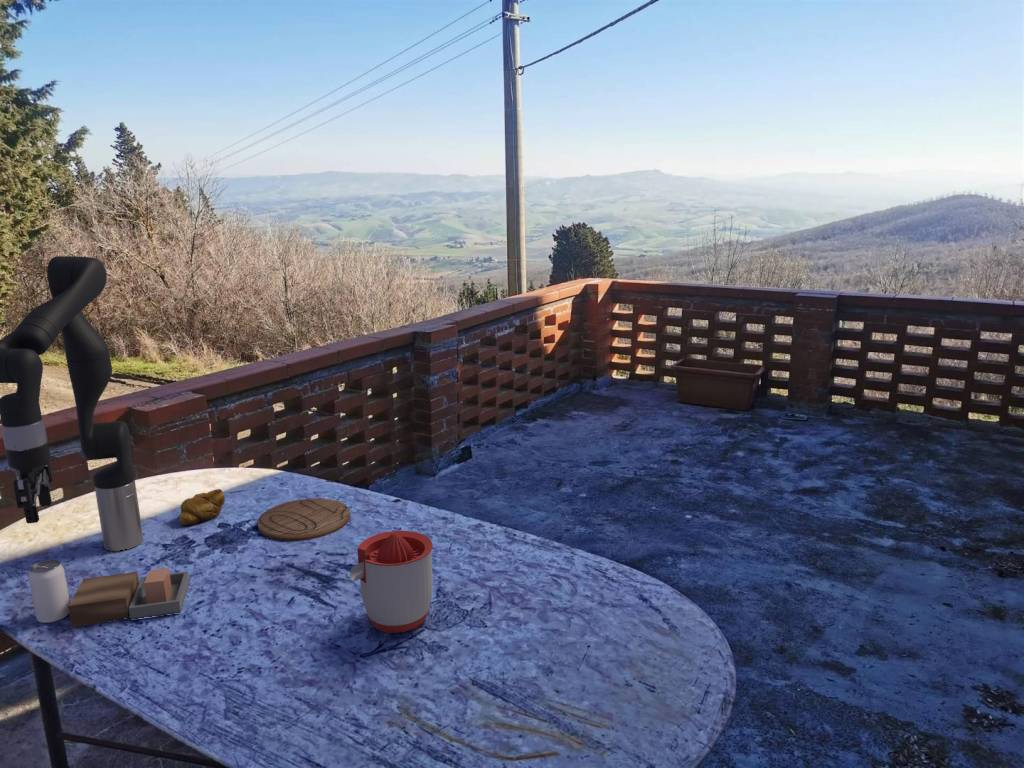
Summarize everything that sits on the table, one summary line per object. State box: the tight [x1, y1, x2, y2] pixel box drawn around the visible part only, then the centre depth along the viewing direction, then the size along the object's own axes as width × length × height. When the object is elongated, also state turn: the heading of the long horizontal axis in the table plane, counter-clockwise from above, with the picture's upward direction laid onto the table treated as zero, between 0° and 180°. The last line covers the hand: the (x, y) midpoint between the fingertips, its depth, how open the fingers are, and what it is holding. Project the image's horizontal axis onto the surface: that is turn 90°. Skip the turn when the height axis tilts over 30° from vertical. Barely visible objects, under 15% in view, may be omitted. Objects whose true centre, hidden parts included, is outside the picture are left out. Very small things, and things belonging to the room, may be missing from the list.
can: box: [28, 559, 71, 624], centre depth 158 cm, size 6×6×12 cm
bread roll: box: [178, 488, 226, 526], centre depth 207 cm, size 13×10×8 cm
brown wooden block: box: [68, 571, 140, 628], centre depth 161 cm, size 12×11×5 cm
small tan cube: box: [144, 567, 172, 604], centre depth 164 cm, size 6×6×4 cm
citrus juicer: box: [349, 530, 434, 634], centre depth 154 cm, size 16×17×20 cm
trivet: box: [257, 497, 351, 542], centre depth 206 cm, size 25×25×2 cm
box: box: [129, 570, 191, 620], centre depth 165 cm, size 14×10×3 cm
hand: (39, 513), depth 157 cm, fingers open, 8 cm apart
